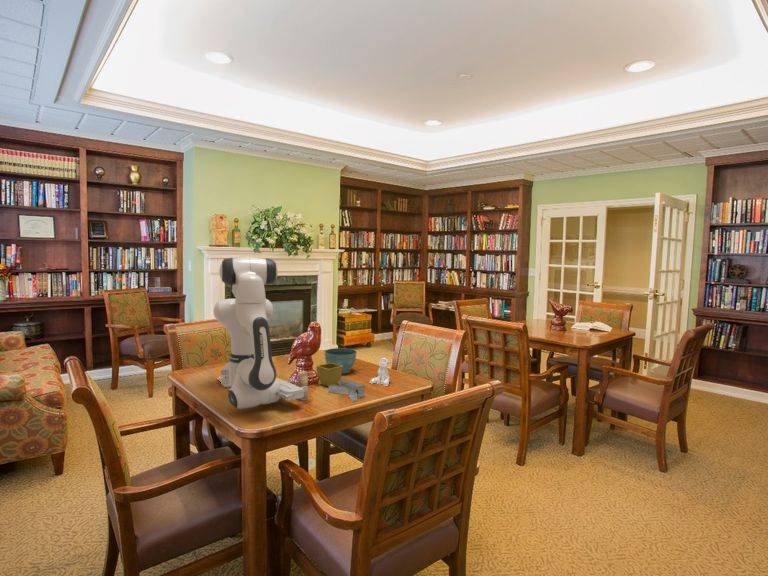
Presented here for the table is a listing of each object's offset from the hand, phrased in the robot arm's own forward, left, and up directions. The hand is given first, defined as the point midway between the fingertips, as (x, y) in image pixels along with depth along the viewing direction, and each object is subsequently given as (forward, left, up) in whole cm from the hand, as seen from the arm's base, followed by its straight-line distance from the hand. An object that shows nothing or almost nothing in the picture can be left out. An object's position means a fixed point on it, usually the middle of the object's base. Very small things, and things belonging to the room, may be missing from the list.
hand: (300, 385), depth 191 cm
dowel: (0, +1, -6) cm, 6 cm away
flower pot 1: (-25, +40, -6) cm, 48 cm away
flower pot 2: (-10, +22, -6) cm, 25 cm away
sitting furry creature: (+3, +43, -6) cm, 44 cm away
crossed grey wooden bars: (+7, +19, -6) cm, 21 cm away
